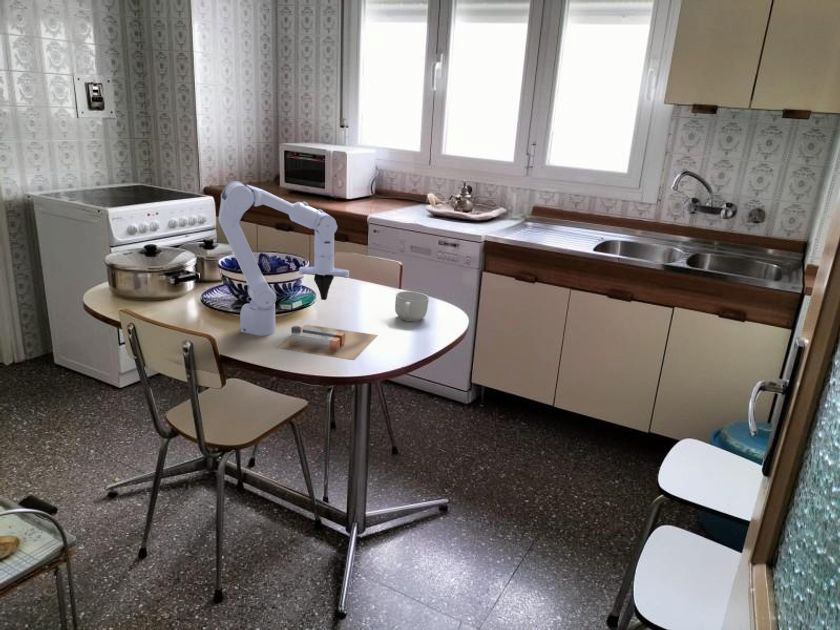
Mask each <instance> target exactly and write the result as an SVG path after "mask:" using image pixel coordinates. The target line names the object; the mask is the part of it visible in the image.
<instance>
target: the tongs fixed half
mask: <svg viewBox="0 0 840 630" xmlns="http://www.w3.org/2000/svg"><path fill="white" fill-rule="evenodd" d="M290 328H291V329H290V330H291V331H290V332H291V334H290V336H291V344H292V345H299V346H305V347H312V348H318V349H324V350H331V351H338V350H339V349H340V338H335V337H329V336H322V335H315V334H309V333H302V332H301V328H302V327H301V326H299V325H298V326H296V325H295V326H291V327H290Z"/></svg>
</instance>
